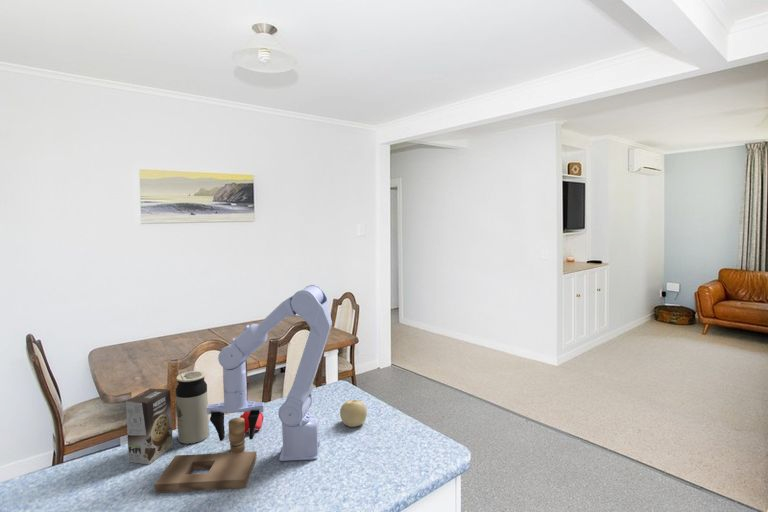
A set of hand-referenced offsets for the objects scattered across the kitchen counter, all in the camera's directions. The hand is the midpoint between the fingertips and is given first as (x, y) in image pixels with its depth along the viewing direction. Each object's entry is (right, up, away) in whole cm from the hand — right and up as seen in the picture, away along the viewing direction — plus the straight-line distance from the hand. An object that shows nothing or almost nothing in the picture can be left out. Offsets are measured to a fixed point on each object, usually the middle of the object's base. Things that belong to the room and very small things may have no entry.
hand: (237, 438), depth 116 cm
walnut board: (-3, -4, -11) cm, 12 cm away
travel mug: (-15, -3, +7) cm, 16 cm away
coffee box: (-22, -4, -1) cm, 22 cm away
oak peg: (0, -3, 0) cm, 3 cm away
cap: (0, -3, +11) cm, 12 cm away
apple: (+30, -2, +15) cm, 33 cm away
